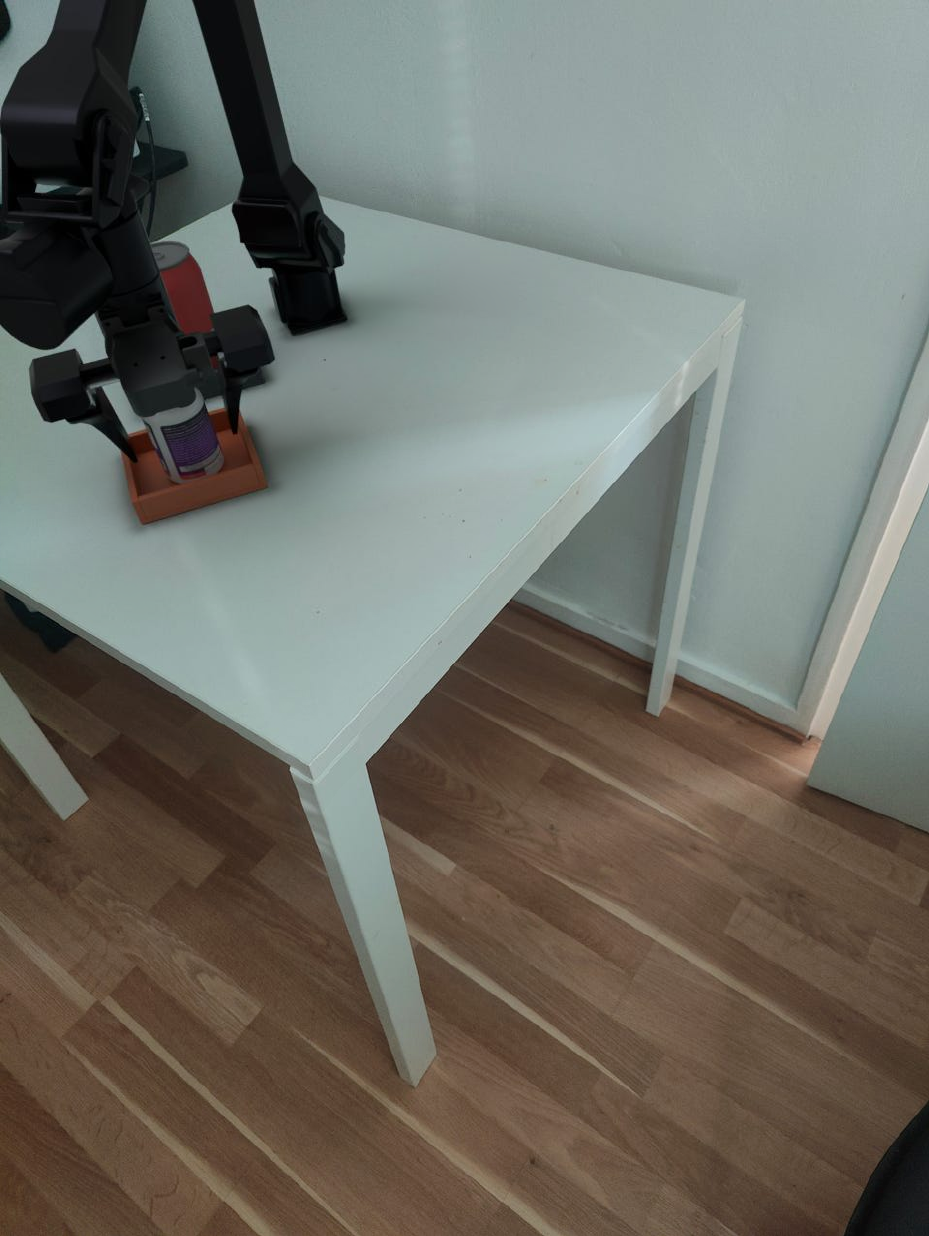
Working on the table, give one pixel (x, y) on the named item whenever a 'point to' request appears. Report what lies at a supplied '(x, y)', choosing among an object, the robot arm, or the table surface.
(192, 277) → the beer can
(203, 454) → the pill bottle
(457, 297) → the table surface
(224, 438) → the tray
